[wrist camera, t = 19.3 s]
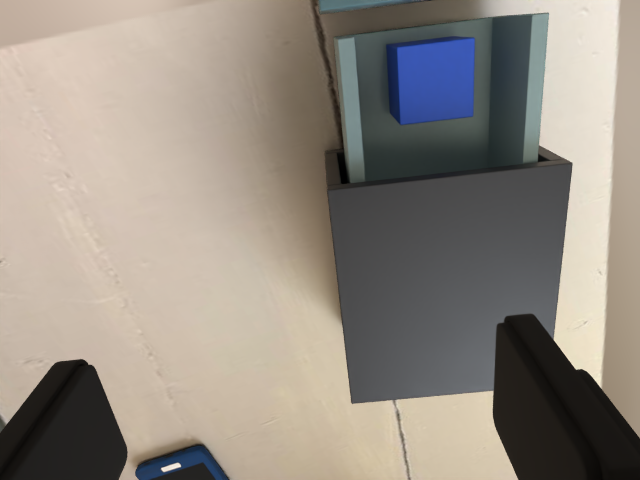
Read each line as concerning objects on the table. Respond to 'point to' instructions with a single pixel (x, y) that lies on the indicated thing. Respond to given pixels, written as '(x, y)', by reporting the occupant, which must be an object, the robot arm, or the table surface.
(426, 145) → the drawer
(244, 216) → the table surface
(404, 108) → the blue block
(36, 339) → the table surface
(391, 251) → the dark grey drawer cabinet
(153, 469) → the cell phone
